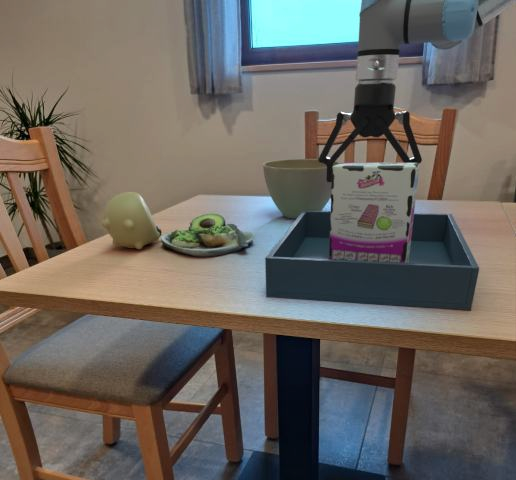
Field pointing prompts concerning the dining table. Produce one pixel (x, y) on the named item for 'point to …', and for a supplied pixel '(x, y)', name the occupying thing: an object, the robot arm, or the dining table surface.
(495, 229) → the dining table surface
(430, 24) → the robot arm
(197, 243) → the salad plate
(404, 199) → the candy bar box
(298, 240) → the bin
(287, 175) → the flower pot
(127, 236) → the toy pig
